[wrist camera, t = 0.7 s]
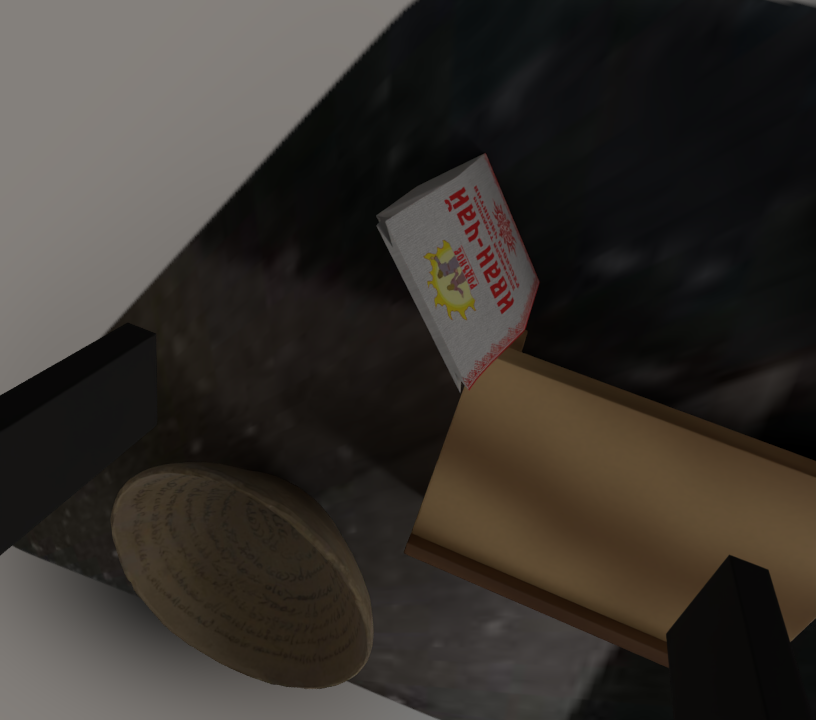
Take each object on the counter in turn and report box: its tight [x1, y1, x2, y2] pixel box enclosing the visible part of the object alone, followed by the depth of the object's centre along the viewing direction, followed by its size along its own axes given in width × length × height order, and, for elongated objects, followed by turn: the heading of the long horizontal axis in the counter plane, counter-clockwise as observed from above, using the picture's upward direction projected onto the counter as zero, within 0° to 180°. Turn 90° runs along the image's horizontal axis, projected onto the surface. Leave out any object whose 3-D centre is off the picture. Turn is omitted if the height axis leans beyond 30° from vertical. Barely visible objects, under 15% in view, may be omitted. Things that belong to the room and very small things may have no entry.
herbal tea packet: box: [376, 153, 540, 392], centre depth 24 cm, size 4×7×10 cm, turn 28°
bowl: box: [111, 462, 373, 689], centre depth 39 cm, size 18×18×8 cm
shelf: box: [404, 330, 816, 668], centre depth 31 cm, size 14×20×5 cm
